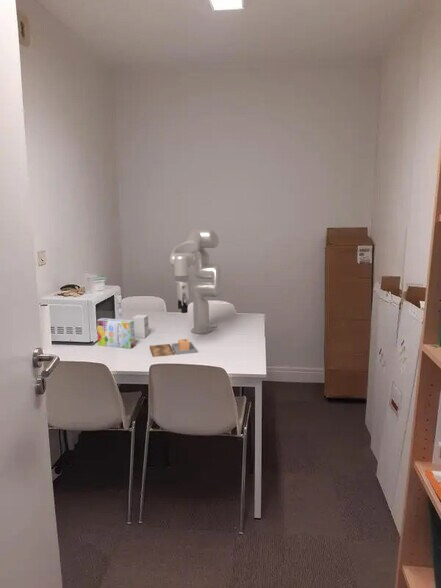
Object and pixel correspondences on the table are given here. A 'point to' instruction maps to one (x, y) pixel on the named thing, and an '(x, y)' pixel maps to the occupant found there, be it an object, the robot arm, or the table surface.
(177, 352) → the grey tray
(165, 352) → the wooden tray
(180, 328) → the table surface
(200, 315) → the robot arm
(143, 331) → the supplement box
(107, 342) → the snack box
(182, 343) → the letter cube
